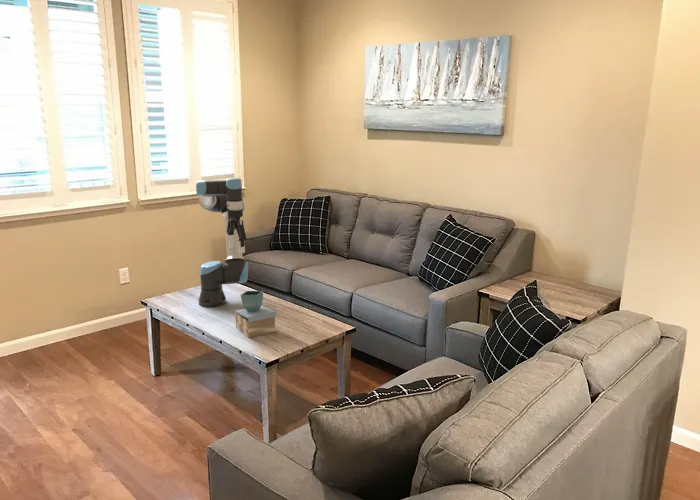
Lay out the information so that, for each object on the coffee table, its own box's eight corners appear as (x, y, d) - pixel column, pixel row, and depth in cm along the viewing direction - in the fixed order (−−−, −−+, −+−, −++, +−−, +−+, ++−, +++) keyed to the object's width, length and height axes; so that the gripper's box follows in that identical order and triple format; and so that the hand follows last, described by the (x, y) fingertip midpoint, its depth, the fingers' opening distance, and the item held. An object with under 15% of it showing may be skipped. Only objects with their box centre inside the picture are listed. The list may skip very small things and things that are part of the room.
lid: (235, 315, 281) (234, 310, 281) (261, 309, 289) (261, 305, 289) (248, 322, 267) (248, 317, 267) (276, 316, 275) (275, 311, 274)
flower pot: (258, 312, 274) (257, 294, 273) (241, 312, 276) (240, 294, 275) (264, 308, 283) (263, 290, 281) (248, 308, 285) (247, 290, 283)
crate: (236, 327, 283) (235, 312, 281) (261, 321, 291) (261, 307, 289) (248, 338, 270) (248, 322, 268) (275, 332, 278) (274, 316, 276)
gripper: (218, 206, 290) (220, 245, 296) (237, 213, 270) (239, 256, 275) (232, 204, 294) (234, 244, 300) (252, 212, 274) (253, 254, 279)
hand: (236, 250), depth 288 cm, fingers open, 13 cm apart
